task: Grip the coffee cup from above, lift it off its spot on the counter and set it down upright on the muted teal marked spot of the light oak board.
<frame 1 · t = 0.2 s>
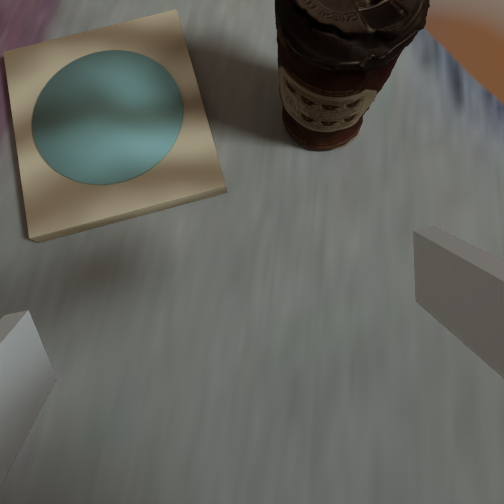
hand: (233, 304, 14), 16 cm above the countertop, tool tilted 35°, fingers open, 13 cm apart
coffee cup: (321, 121, 34), on the countertop
oak board: (113, 123, 34), on the countertop
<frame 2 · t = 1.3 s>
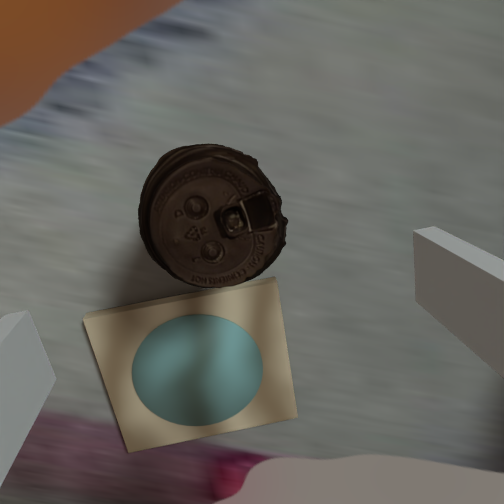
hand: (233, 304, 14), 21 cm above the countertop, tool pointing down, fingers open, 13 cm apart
coffee cup: (212, 186, 34), on the countertop
oak board: (198, 364, 39), on the countertop
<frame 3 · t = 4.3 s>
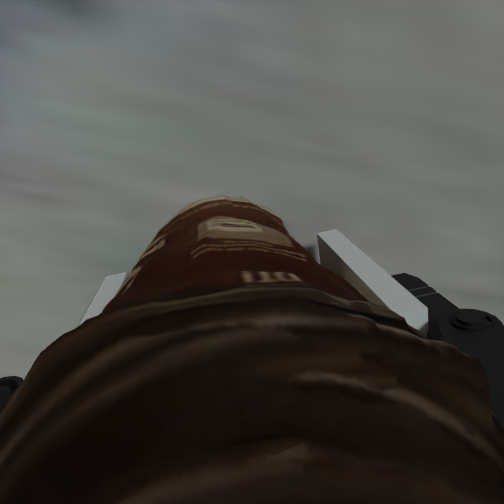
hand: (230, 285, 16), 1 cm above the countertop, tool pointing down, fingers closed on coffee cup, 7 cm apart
coffee cup: (227, 272, 17), on the countertop, touching gripper
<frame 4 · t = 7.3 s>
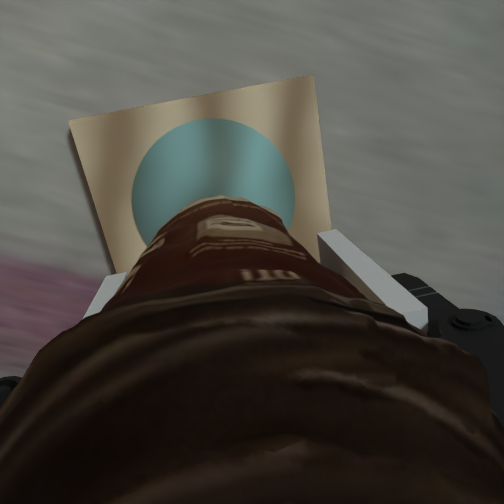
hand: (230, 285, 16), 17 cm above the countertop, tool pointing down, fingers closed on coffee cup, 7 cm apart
coffee cup: (227, 272, 17), point 16 cm above the countertop, touching gripper
oak board: (214, 199, 32), on the countertop
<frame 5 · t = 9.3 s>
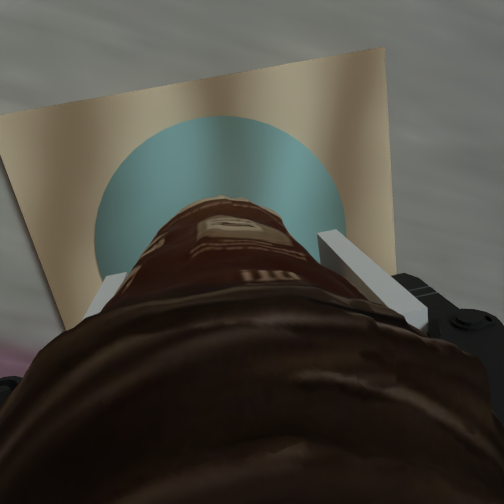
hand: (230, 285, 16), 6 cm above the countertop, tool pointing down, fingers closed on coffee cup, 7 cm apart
coffee cup: (227, 272, 17), point 5 cm above the countertop, touching gripper
oak board: (223, 238, 21), on the countertop
when the fingers open (4 cm above the countertop, at t = 10.6 s): coffee cup drops 1 cm, resting on oak board.
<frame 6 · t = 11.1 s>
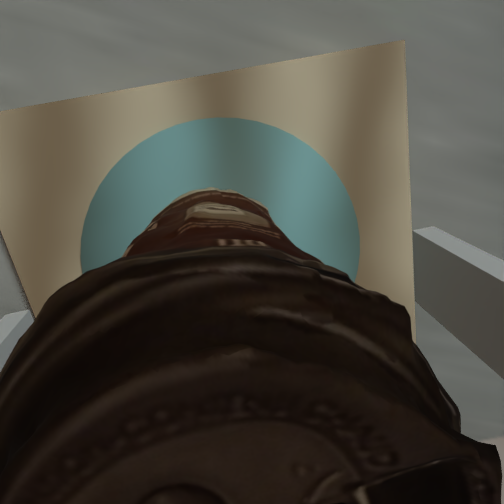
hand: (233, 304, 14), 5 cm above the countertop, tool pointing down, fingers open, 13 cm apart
coffee cup: (217, 259, 18), point 1 cm above the countertop, touching oak board
oak board: (224, 252, 19), on the countertop
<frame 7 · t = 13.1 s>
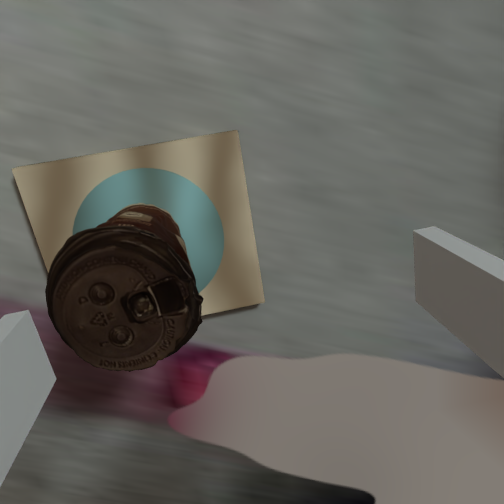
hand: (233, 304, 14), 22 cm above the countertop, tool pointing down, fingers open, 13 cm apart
coffee cup: (145, 241, 34), point 1 cm above the countertop, touching oak board
oak board: (151, 238, 35), on the countertop
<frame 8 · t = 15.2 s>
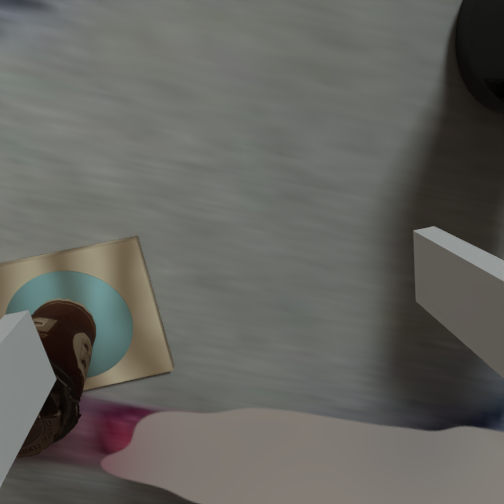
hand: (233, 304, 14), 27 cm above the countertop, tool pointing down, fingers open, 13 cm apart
coffee cup: (66, 326, 41), point 1 cm above the countertop, touching oak board
oak board: (74, 321, 42), on the countertop
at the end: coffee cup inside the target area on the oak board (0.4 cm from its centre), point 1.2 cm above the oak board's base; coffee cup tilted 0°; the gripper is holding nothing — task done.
